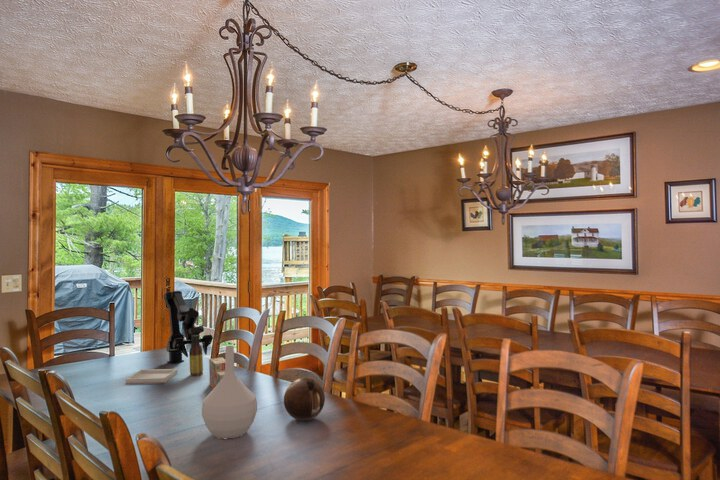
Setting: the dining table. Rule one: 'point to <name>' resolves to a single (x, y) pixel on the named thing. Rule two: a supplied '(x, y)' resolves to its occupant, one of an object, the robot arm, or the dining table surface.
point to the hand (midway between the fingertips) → (197, 355)
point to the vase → (229, 404)
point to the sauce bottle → (196, 357)
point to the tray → (151, 376)
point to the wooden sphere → (304, 399)
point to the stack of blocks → (216, 370)
